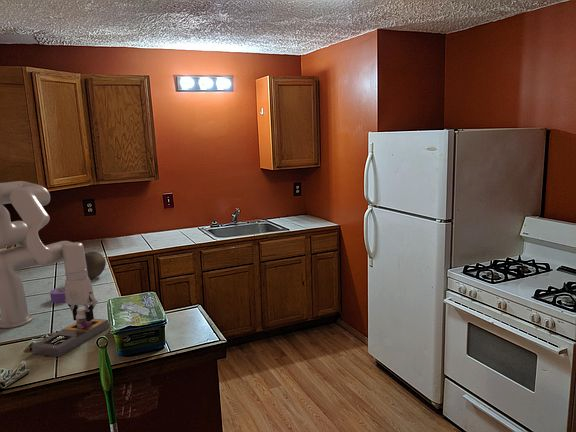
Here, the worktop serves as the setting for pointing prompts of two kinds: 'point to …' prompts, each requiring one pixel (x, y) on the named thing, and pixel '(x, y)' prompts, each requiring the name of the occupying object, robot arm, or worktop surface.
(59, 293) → the tape roll
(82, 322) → the pill bottle
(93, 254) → the cantaloupe
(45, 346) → the hole rail
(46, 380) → the worktop surface
